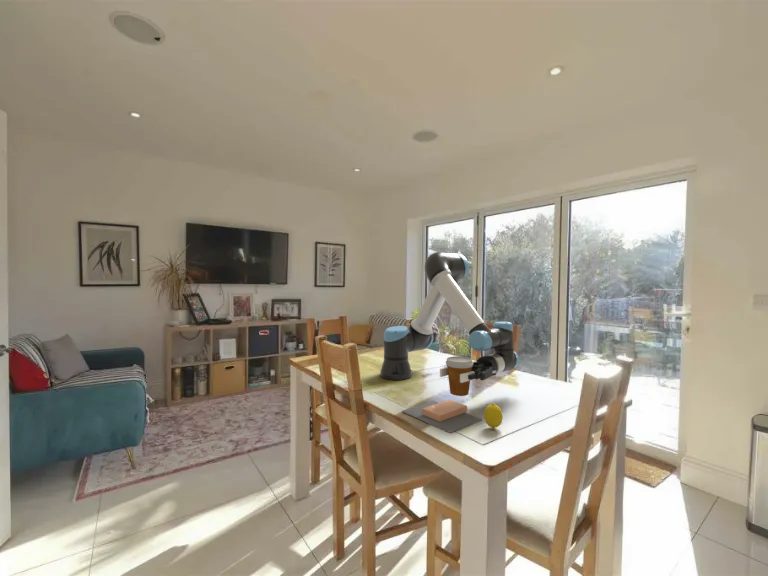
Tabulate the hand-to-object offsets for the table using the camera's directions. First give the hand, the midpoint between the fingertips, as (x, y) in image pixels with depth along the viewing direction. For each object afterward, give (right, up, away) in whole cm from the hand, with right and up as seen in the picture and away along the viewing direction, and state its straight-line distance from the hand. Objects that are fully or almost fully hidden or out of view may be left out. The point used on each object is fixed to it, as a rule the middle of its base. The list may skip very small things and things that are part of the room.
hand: (450, 375), depth 121 cm
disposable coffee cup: (+4, -7, +3) cm, 9 cm away
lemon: (+12, -15, -10) cm, 21 cm away
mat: (-3, -14, +1) cm, 14 cm away
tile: (+4, -12, +6) cm, 14 cm away
